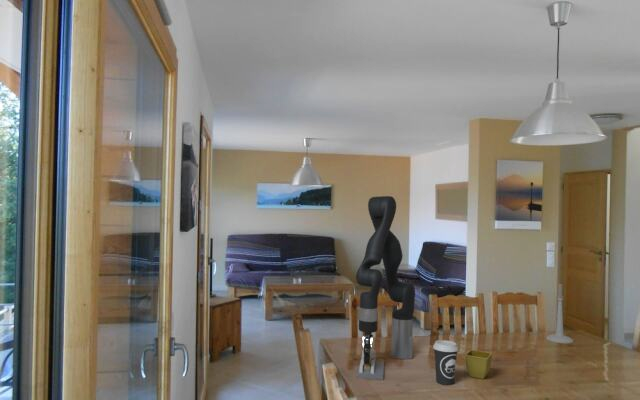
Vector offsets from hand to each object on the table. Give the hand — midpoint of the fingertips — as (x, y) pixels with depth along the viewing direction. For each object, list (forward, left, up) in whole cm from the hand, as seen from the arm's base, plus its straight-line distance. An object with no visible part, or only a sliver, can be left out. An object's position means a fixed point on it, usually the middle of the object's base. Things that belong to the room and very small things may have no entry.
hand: (367, 360), depth 191 cm
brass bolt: (0, -2, -4) cm, 4 cm away
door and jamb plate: (-1, -5, -5) cm, 7 cm away
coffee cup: (-30, +3, -5) cm, 31 cm away
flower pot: (-44, -7, -6) cm, 45 cm away
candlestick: (-97, -77, -5) cm, 124 cm away
